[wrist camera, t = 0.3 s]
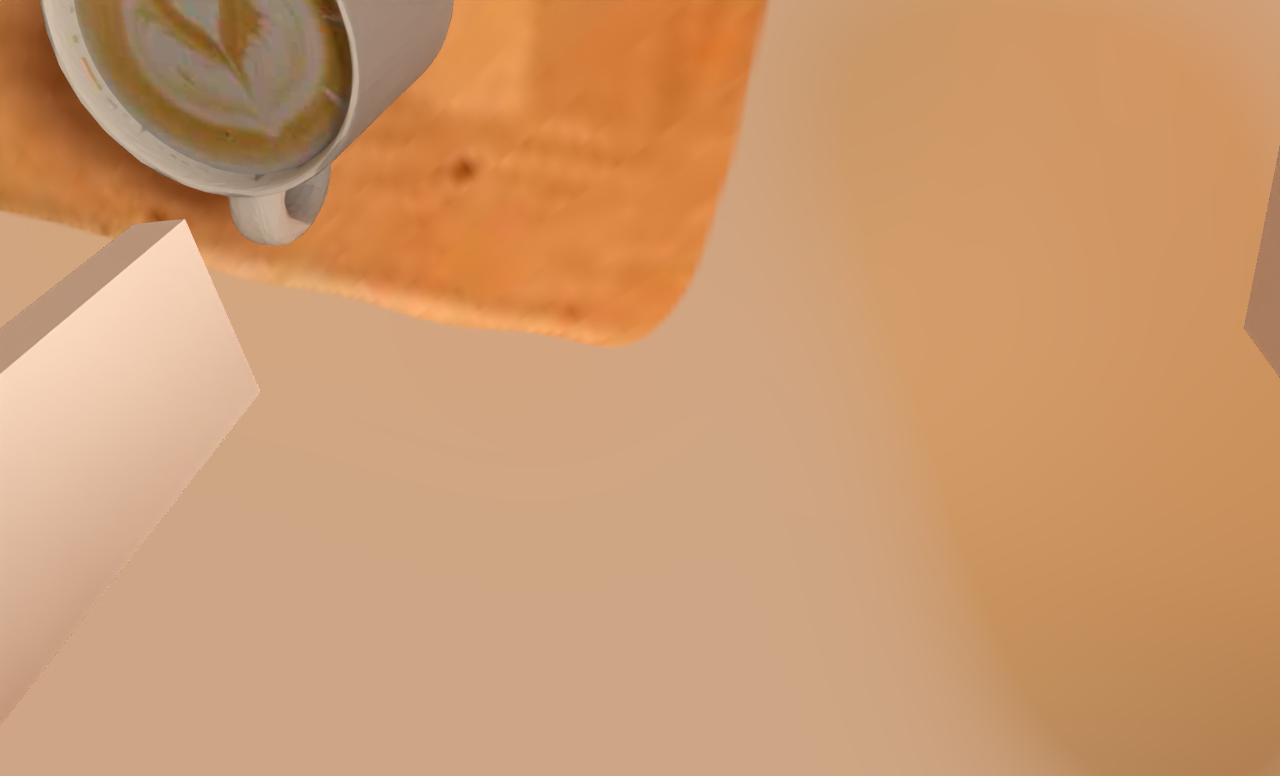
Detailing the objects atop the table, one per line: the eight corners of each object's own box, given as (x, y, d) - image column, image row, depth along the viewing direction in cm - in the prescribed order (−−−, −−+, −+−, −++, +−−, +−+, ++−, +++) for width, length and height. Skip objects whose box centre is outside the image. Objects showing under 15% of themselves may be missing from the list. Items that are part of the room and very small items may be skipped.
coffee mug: (210, -219, 35) (32, -197, 27) (479, -115, 36) (386, -63, 28) (188, 127, 43) (44, 226, 34) (411, 207, 43) (321, 322, 35)
